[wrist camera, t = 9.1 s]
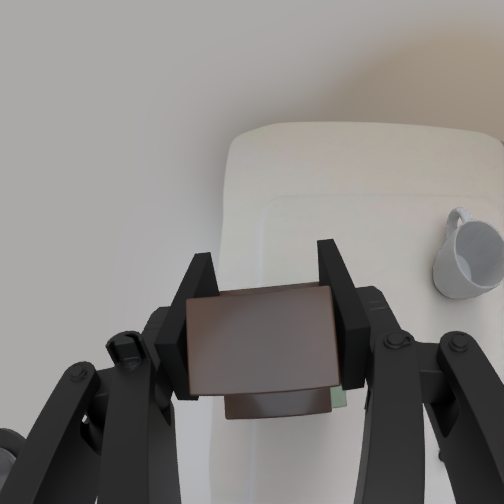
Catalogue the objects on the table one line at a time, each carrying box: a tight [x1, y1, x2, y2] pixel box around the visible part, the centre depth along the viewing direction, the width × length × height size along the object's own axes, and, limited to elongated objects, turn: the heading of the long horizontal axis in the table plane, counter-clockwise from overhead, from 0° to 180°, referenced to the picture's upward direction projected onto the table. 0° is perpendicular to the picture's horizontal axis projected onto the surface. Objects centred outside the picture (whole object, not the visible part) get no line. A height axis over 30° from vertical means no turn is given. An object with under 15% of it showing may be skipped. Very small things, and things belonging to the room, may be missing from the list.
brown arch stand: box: [186, 282, 341, 420], centre depth 16 cm, size 5×6×14 cm
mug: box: [433, 208, 504, 299], centre depth 36 cm, size 13×9×10 cm
